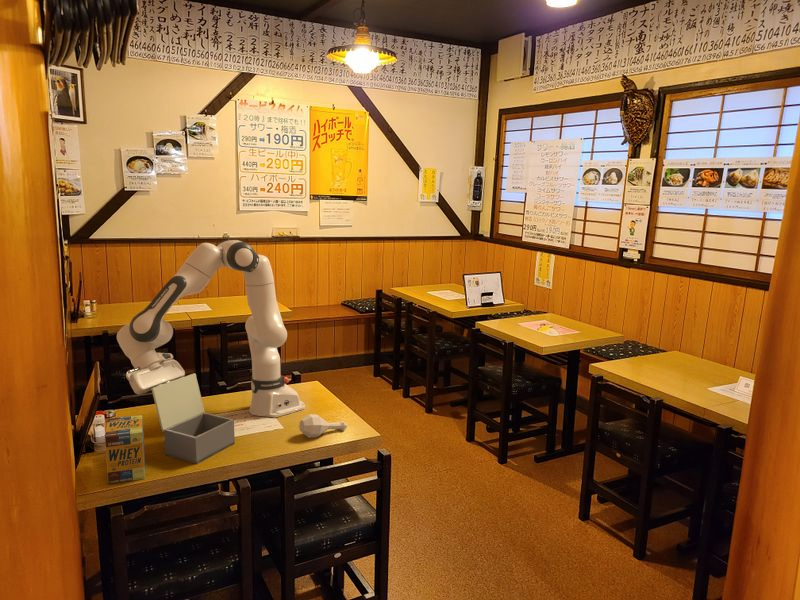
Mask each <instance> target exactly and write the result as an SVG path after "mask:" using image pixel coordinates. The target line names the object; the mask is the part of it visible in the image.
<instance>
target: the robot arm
mask: <svg viewBox="0 0 800 600" xmlns="http://www.w3.org/2000/svg"><path fill="white" fill-rule="evenodd" d="M222 267H225V268H228V269H230V270H233V271H234V270H235V271H240V272H242V273H243V276H244V284H245V285H244V286H245V292H246V300H247V305H248V307H249V309H250V310H249V311H250V312H251V315H250V316H249V317H248V318H247V319H246V322H245V325H244V327H245V331H246V333H247V339H248V345H249V351H250V354H251V365H252V366H251V370H252V372H251V373H252V376H251V383H250V384H251V385H250V386H251V392H252V393H251V401H250V406H249V410H248V412H249V413H250V414H251V415H253V416H258V417H269V418H279V417H282V416H285V415H288V414H292V413H295V412H299V411H302V410H305V409H306V404H305V403H304V402H303V401H302V400H301V399H300V396H299V393H298V391H296V390H295V389H294V388H293V387H291V386H289V385H288V384H289V382H290V379H289V378H288V377H287V376H284V375H282V374H281V357H280V353H279V350H278V348H280V347H281V346H283V345H284V344H285V343H286V341H287V338H288V331H287V329H286V326H285V325H284V324H285V323H284V322H283V318H282V314H281V312H280V311H281V310H280V307H279V305H278V300H277V294H276V287H275V278H274V273H273V269H272V265H271V262H270V259H269V258H268V257H267V256H266V255H263V254H258V253H257V252H256V251H255V249H254V248H253V247H252V245H251V244H249V243H247V242H244V241H241V240H239V239H225V240H223V241H220V242H218V243H216V244H213V243H210V242H202V243H200V244H199V245H198V246H197V247H195V249H194V250H193V251H192V252H191V253H190V254H189V256H188V257H186V259H185V261H184V262H183V264H182V265H181V266H180V268H179V269H178V271H176V273H175V274H174V275H173V276H172V277H171V278H170V280H168V281H167V282H166V283H165V284H164V285H163V287H162V288H161V289H160V291H159V292H158V293H157V294H156V295H155V296H154V297H153V299H152V300H151V302H149V303H148V305H147V306H146V307H145V308H144V309H143V310H142V311H139V313H137V314H135V316H133V318H132V319H131V320H130V322H129V323H127V324H124V325H123V326H121V328H120V329H118V331H117V334H116V340H117V343H118V344H119V347H120V349H121V350H122V352H123V353H124V355H125V356H126V357H127V358H128V359H129V360H130V362H131V365H132V366H133V369H128V370H127V371H126V374H125V377H126V379H127V380H128V382H129V385H130V387H131V389H132V390H133V392H134V393H135V394H136V395H139V396H140V395H143V394H146V393H148V392H150V391H151V392H152V389H151V388H154V387H157V386H160V385H162V384H165V383H168V382H171V381H174V380H177V379H179V378H182V377H185V376H186V372H185V370H184V368H183V367H182V365H181V364H180V363H179V362H178V361H177V360H175V359H174V355H173V354H172V353H171V352H170V353H169V352H168V353H167V352H166V353H165V352H157V351H156V350H155V349H158V348H160V347H162V346H164V345H166V344H167V343H169V342H170V341H171V340H172V338H173V335H174V328H173V326H172V324H171V323H170V322H169V321H167V320H166V319H164V317H165V316H166V314H168V312H170V309H171V308H172V307H173V306H174V305H175V303H176V302H177V301H178V300H179V299H182V298H183V297H186V296H191V295H196V294H200V293H201V292H202V291H203V290H204V289H205V288H206V287H207V285H208V284H209V283H210V281H211V280H212V279H213V277H214V275H216V272H217V271H218V270H219V269H221V268H222Z"/></svg>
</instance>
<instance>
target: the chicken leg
mask: <svg viewBox="0 0 800 600" xmlns="http://www.w3.org/2000/svg"><path fill="white" fill-rule="evenodd" d="M298 425H299V426H298V427H299V431H300V432H301V433H302V434H304V435H305V436H306V437H307V438H313V439H315V438H318V437H320V436H321V435H322V434H323V433H325V432H327V431H328V430H340V431H345V430H346V429H347V428H348V424H347V423H346V422H345V421H343V420H342V421H340V422H327V420H325V419H323V418H322V417H320V415H318V414H314V413H313V414H310V413H309V414H307V415H306V416H304V417H303V418H302V419H301V420H300V421H299V424H298Z"/></svg>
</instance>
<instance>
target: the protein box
mask: <svg viewBox="0 0 800 600" xmlns="http://www.w3.org/2000/svg"><path fill="white" fill-rule="evenodd" d="M143 420H144V418H143V415H141V414H140V415H131V416H122V417H121V416H120V417H114V418H107V420H106V426H105V434H104V443H105V445H104V446H105V460H106V472H107V485H111V484H113V485H114V484H118V483H124V482H125V483H126V482H130V481H131V482H133V481H139V480H144V479H146V459H145V458H146V457H145V439H144V438H145V437H144V421H143Z"/></svg>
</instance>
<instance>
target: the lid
mask: <svg viewBox="0 0 800 600" xmlns="http://www.w3.org/2000/svg"><path fill="white" fill-rule="evenodd" d="M151 389H152V390H151V392H152V397H153V400H154V401H153V402H154V405H155V408H156V413H157V417H158V420H159V425H160V429H161V431H162V430H164V429H166V428H169V427H171V426H173V425H175V424H178V423H180V422H182V421H185V420H187V419H190V418H192V417H194V416H197V415H199V414H201V413H206V412H205V408H204V403H203V400H202V399H203V398H202V394H201V391H200V386H199V383H198V379H197V374H196V373H191V374H188V375H185V376H184V377H182V378H179V379H177V380H174V381H171V382H168V383H165V384H162V385H160V386H157V387H154V388H151Z"/></svg>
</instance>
